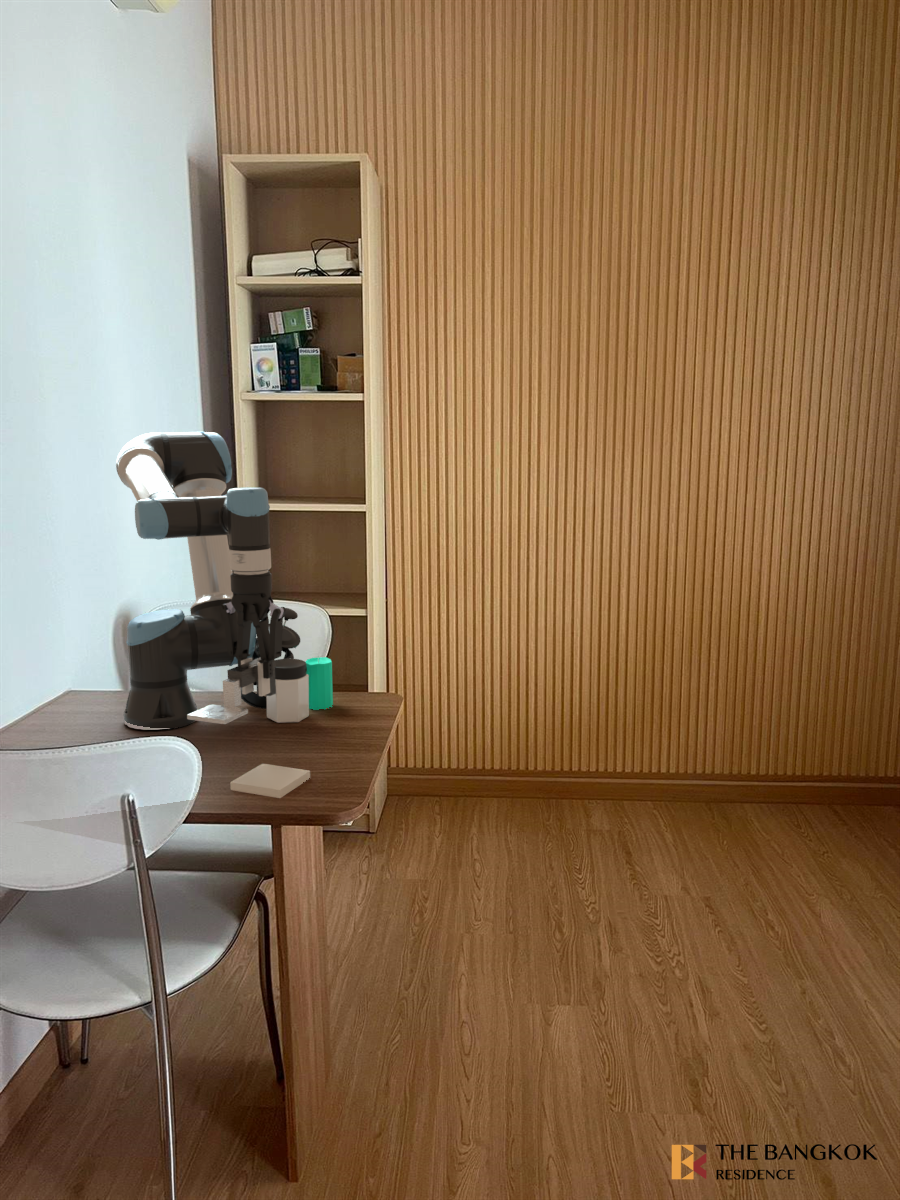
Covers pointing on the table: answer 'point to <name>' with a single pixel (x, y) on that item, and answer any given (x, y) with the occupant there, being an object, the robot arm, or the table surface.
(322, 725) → the table surface
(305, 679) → the jar
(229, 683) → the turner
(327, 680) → the candle
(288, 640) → the french press
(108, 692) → the table surface
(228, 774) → the table surface
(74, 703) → the table surface
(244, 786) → the tile
